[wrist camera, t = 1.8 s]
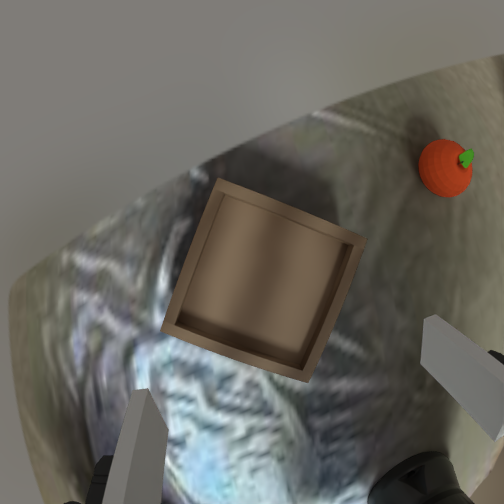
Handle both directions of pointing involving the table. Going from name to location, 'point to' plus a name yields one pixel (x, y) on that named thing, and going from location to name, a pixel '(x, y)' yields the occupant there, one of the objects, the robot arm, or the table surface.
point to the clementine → (445, 167)
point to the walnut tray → (263, 282)
